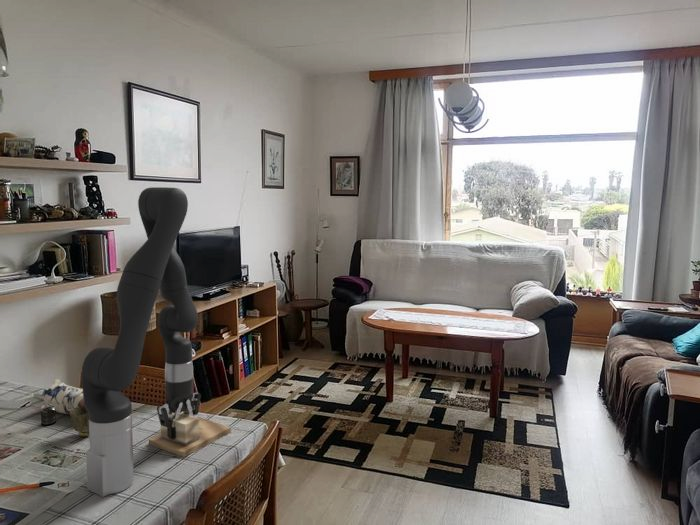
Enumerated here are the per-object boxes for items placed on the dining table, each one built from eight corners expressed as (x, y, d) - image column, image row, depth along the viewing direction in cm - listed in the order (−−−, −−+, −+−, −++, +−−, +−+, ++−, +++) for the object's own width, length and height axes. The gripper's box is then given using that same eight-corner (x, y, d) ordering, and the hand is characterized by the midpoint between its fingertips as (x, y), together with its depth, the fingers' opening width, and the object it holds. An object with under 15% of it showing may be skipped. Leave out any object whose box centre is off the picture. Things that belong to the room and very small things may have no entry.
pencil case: (40, 414, 160) (39, 384, 159) (64, 404, 168) (62, 376, 167) (93, 425, 152) (91, 394, 151) (115, 414, 160) (114, 385, 159)
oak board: (183, 457, 134) (183, 451, 134) (148, 444, 141) (148, 439, 141) (231, 432, 149) (231, 427, 149) (197, 421, 156) (197, 416, 156)
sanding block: (185, 445, 137) (185, 424, 136) (160, 436, 142) (160, 416, 141) (199, 438, 141) (199, 418, 140) (175, 430, 146) (174, 410, 145)
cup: (105, 430, 149) (104, 404, 148) (89, 441, 141) (88, 414, 141) (81, 428, 149) (80, 403, 149) (65, 440, 142) (63, 413, 141)
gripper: (167, 386, 131) (168, 448, 133) (208, 372, 144) (208, 428, 146) (148, 381, 135) (149, 441, 137) (189, 367, 148) (190, 422, 149)
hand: (180, 434), depth 141 cm, fingers closed on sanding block, 5 cm apart
